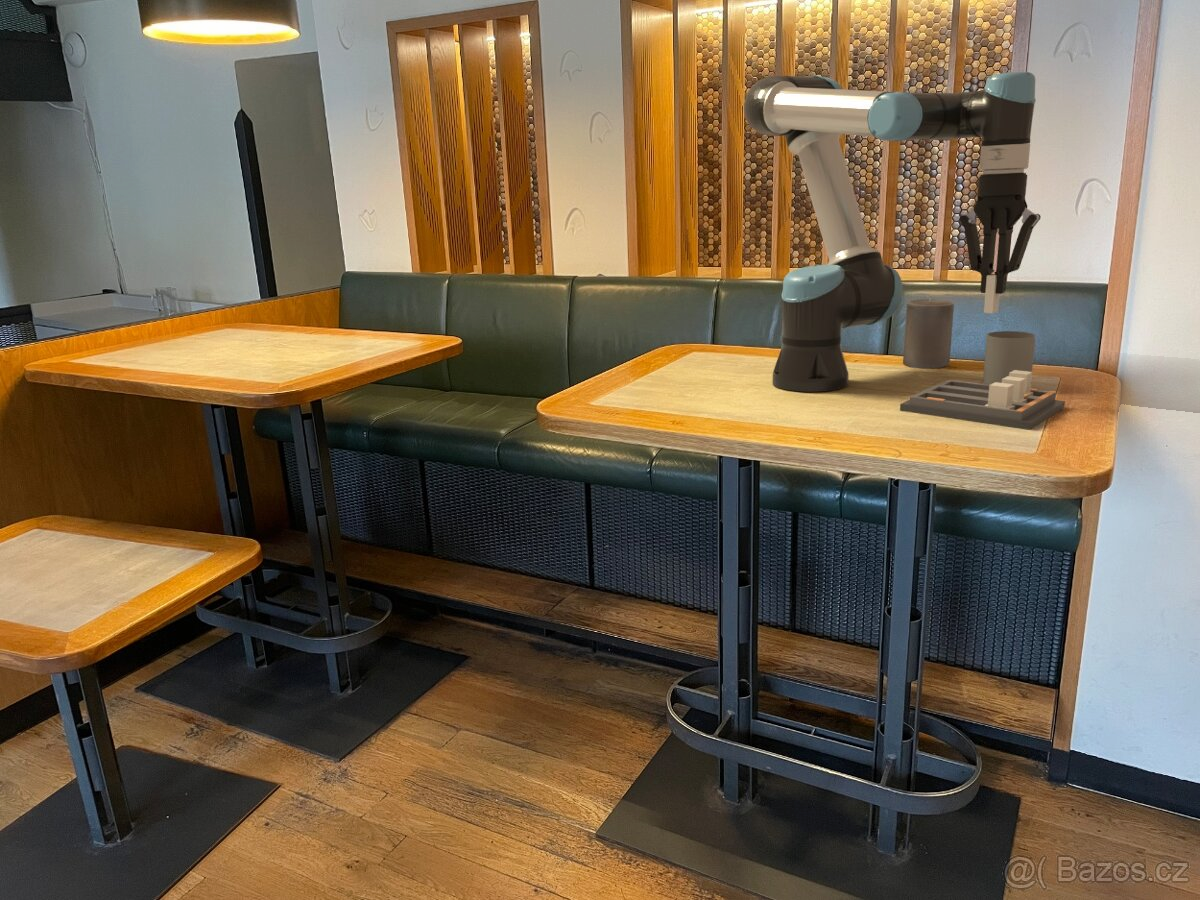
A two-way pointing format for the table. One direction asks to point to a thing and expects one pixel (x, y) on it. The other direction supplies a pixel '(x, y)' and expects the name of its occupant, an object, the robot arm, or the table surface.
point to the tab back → (1024, 375)
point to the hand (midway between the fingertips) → (990, 311)
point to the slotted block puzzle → (982, 405)
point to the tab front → (1001, 395)
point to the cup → (1007, 354)
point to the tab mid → (1016, 387)
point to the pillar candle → (928, 333)
